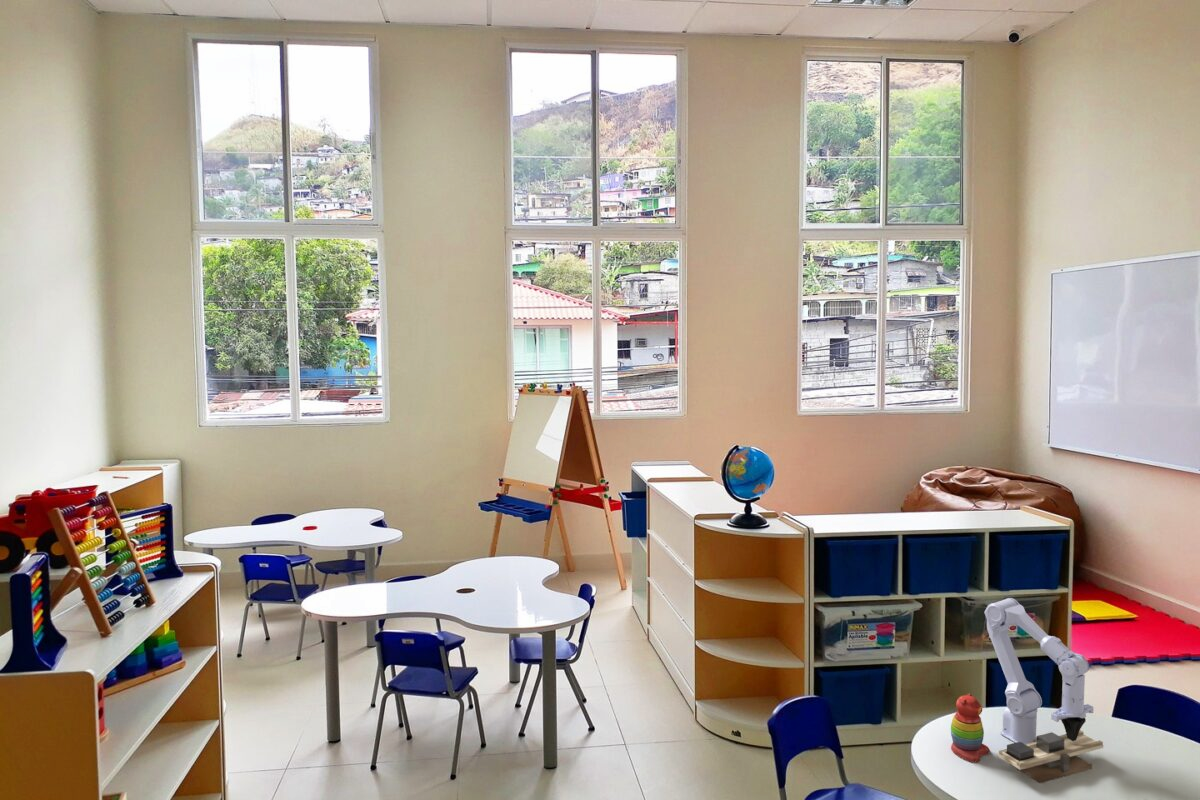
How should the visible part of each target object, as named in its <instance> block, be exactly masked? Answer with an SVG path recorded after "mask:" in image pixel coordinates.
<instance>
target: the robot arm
mask: <svg viewBox="0 0 1200 800" xmlns="http://www.w3.org/2000/svg"><path fill="white" fill-rule="evenodd" d="M985 608H986V609H985V610H984V615H985V618H986V630H987V632H988V635H989V638H990V641H991V643H992V646H993V649H994V651H995V653H996V656H997V658H998V662H999V663H1000V666H1001V669H1002V671H1003V675H1004V677H1005V680H1006V683H1007V686H1006V689H1005V691H1004V694H1005V697H1006V707H1005V708H1004V711H1003V714H1002V731H1001V732H1000V735H1001V736H1003V737H1005V738H1007V739H1008V740H1010V741H1011V742H1013V743H1016V742H1022V743H1023V744H1029V743H1033V742H1034V739H1037V722H1038V721H1037V717H1038V709H1039V708H1040V707H1041V706H1042V704H1043V700H1042V697H1041V695H1040V693H1039V692H1038V691H1037V690H1036V688H1035V686H1034V685H1035V684H1033V683H1032V682H1030V681H1028V680H1027V679H1026V676H1025V674H1024V671H1023V668H1022V666H1021V664H1020V661H1019V659H1018V656H1017V653H1016V650H1015V647H1014V646H1013V645H1014V644H1013V642H1012V641H1011V637H1010V635H1009V633H1008V629H1009V627H1010V626H1017V627H1019V628H1020V629H1022V630H1023V631H1024V632H1025V633H1027V634H1028V635H1029V636H1030V637H1032V638H1033V639H1034V640H1035V641H1037V642H1038V643H1039V644H1040V650H1041V651H1042V652H1043V653H1044V654H1046V655H1047V656H1048V657H1049V658H1050V659H1051V660H1052V661H1053V662H1054V663H1055V664H1056V665H1058V670H1059V672H1060V674H1061V676H1062V679H1061V680H1062V689H1061V691H1062V693H1061V706H1060V707H1059V708H1058V709H1056V710H1055V711H1054V712H1051V719H1050V720H1053V722H1056V723H1058V722H1059V721H1061V724H1062V725H1063V727H1064V730H1065V734H1066V735H1067V738H1068V739H1070V740H1072V741H1075V740H1076V739H1077V736H1078V733H1079V731H1080V730H1081V729H1082V727H1083V725H1084V724H1085V723H1086V720H1087V719H1086V717H1087V714H1093V713H1094V709H1095V708H1094V706H1092V705H1091V704H1088V703H1087V704H1085V683H1086V680H1085V678H1086V673H1088V671H1089V669H1090V664H1089V661H1088V660H1087V658H1085V657H1084V655H1082V654H1080V653H1076V652H1074V651H1073V650H1071V649H1070V648H1068V647H1067V646H1066V644H1064V643H1063V642H1062V640H1061V639H1060V638H1059V637H1056V636H1054V635H1052V636H1051V635H1048V633H1046V632H1045V631H1044V629H1042V628H1041V626H1040V625H1039V624H1037V623H1036V622H1035V620H1033V619H1032V618H1031V616H1030V615H1029V614H1028V613H1027V612H1026V610H1025V607H1024V606H1023V605H1022V604H1020V603H1019V602H1018V600H1016V599H1015V598H1013V597H1007V598H1005V599H1003V600H999V601H996V602H994V603H993V602H992V603H989V604H988V605H987V606H986V607H985Z"/></svg>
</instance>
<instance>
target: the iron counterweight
mask: <svg viewBox="0 0 1200 800" xmlns="http://www.w3.org/2000/svg"><path fill="white" fill-rule="evenodd" d="M1006 749H1007V754H1008V755H1010V756H1011V757H1013V758H1014V759H1016V760H1018V761H1022V760H1026V759H1030V758H1034V749H1032V748H1030V747H1029V746H1027V745H1025V744H1023V743H1022V742H1016V743H1015V742H1013V743H1010V744H1006Z"/></svg>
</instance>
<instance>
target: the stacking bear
mask: <svg viewBox="0 0 1200 800" xmlns="http://www.w3.org/2000/svg"><path fill="white" fill-rule="evenodd" d="M956 699H957V700H956V703H955V704H956V710H957V712H955V714H954V715H953V716H952V721H951V724H950V737H951V740H952V743H951V745H950V746H951V747H950V749H951V752H952V753H954V755H956V754H957V755H958V757H959V756H960V757H959V758H961V759H962V758H963V760H965V761H967V760H968V762H970V761H971V762H970V763H978V761H979V762H980V761H981V757H983V756H986V755H989V754H990V753H991V751H990V750H991V749H990V748H989V746H988V745H986V744H984V743H983V741H984V735H985V734H984V731H985V730H984V726H983V721H982V717H981V716H980V715H981V714H982V712H983V707H982V705H981V703H980V702H979V701H978V699H976V698H975V697H974V696H972V693H967V694H966V695H965V694H963V695H960V696H959V697H958V698H956ZM957 755H956V756H957Z"/></svg>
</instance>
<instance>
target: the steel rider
mask: <svg viewBox="0 0 1200 800" xmlns="http://www.w3.org/2000/svg"><path fill="white" fill-rule="evenodd" d="M1036 738H1037V743H1036V747H1037V748H1039V749H1040V750H1042V751H1044V752H1045V753H1047V754H1049V753H1053V752H1057V751H1061V750H1064V740H1065V739H1064V738H1062V737H1060V735H1058V734H1056V733H1054V732H1052V731H1051V732H1048V733H1047V732H1046V733H1044V734H1039V735H1036Z"/></svg>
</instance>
